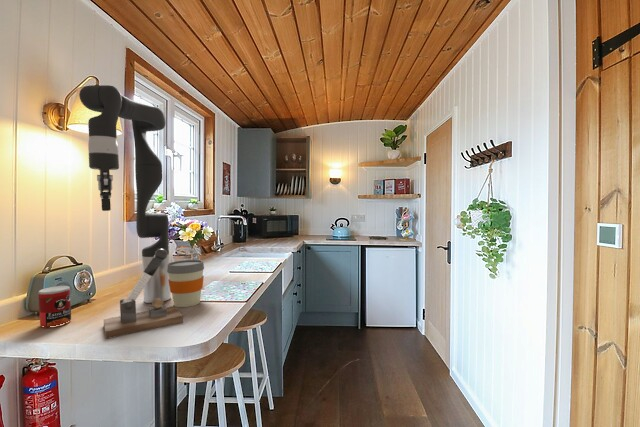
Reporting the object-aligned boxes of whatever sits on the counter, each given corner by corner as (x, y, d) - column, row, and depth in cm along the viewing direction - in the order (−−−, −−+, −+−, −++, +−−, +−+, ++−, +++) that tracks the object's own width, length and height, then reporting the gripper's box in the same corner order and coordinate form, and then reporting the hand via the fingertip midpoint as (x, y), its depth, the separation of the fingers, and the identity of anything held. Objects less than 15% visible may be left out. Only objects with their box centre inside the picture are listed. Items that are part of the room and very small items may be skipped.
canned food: (46, 330, 98) (44, 293, 97) (35, 325, 102) (33, 290, 101) (76, 322, 104) (74, 287, 104) (65, 317, 108) (63, 284, 108)
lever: (118, 304, 99) (158, 246, 105) (129, 309, 100) (168, 251, 106) (119, 307, 96) (160, 247, 102) (131, 312, 97) (170, 252, 103)
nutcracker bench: (103, 325, 100) (102, 299, 100) (174, 312, 112) (173, 288, 111) (105, 338, 90) (104, 309, 90) (182, 322, 102) (182, 296, 102)
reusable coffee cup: (178, 298, 128) (176, 260, 128) (210, 298, 128) (208, 259, 127) (161, 308, 116) (160, 266, 115) (196, 308, 115) (195, 265, 115)
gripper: (120, 151, 96) (122, 210, 97) (116, 156, 107) (119, 210, 108) (88, 149, 92) (91, 211, 93) (88, 155, 103) (91, 210, 103)
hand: (106, 210), depth 100 cm, fingers closed
